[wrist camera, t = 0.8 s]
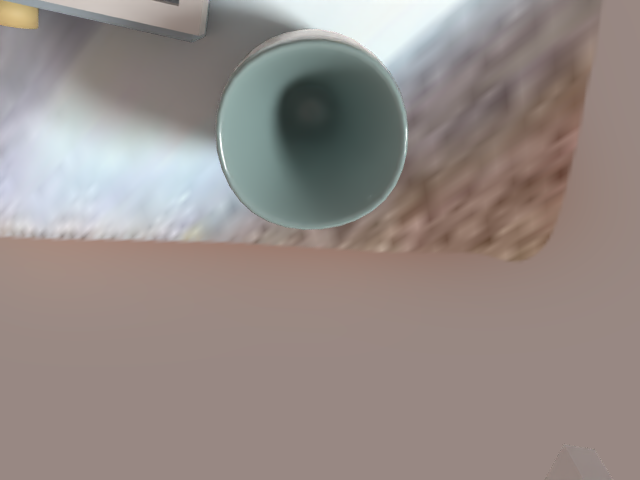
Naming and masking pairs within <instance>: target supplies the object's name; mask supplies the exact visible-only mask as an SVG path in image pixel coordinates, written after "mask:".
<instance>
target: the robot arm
mask: <svg viewBox="0 0 640 480" xmlns="http://www.w3.org/2000/svg"><path fill="white" fill-rule="evenodd" d="M545 480H613V478H612V477H611V475H610V474H609V472H608V470H607V469H606V467H605V466H604V464H603V462H602V461H601V459H600V457H599V456H598V454H597V452H596V451H595V450H594V449H589V448H582V447H576V446H570V445H563V447H562V449H561V451H560V452H559V454H558V456H557V458H556V460H555V462H554V463H553V465H552V467H551V469H550V471H549V473H548V474H547V477H546V478H545Z"/></svg>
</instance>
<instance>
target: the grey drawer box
mask: <svg viewBox="0 0 640 480" xmlns="http://www.w3.org/2000/svg"><path fill="white" fill-rule="evenodd" d="M209 5H210V0H0V25H3V26H9V27H16V28H25V29H37V28H38V13H39V8H40V9H44V10H49V11H53V12H58V13H62V14H67V15H71V16H76V17H80V18H85V19H89V20H94V21H98V22H103V23H107V24H112V25H117V26H121V27H126V28H130V29H135V30H139V31H144V32H148V33H153V34H157V35H162V36H166V37H171V38H175V39H180V40H184V41H189V42H194V41H196V40H198V39H200V38H202V37H204V36H206V29H207V21H208V13H209Z"/></svg>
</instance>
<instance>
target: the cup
mask: <svg viewBox="0 0 640 480" xmlns="http://www.w3.org/2000/svg"><path fill="white" fill-rule="evenodd" d="M215 136H216V148H217V153H218V156H219V160H220V164H221V168H222V171H223V173H224V175H225V177H226V179H227V182H228V184H229V186H230V188H231V189H232V190H233V192H234V193H235V195H236V196H237V197H238V199H239V200H240V202H242V203H243V204H244V205H245V206H246V207H247V208H248V209H249V210H250V211H251V212H252V213H254V214H256V215H257V216H259V217H261V218H263V219H264V220H266V221H268V222H271V223H274V224H277V225H280V226H283V227H288V228H295V229H302V230H310V229H326V228H331V227H337V226H341V225H344V224H347V223H349V222H352V221H355V220H357V219H359V218H361V217H363V216H365V215H366V214H368V213H370V212H372V211H373V210H374V209H375V208H376V207H378V206H379V205H380V204H381V203H382V202H383V201H384V200H385V199H386V198H387V197H388V195H389V194H390V193H391V191H392V190H393V188H394V187H395V186H396V183H397V181H398V179H399V177H400V174H401V172H402V170H403V166H404V162H405V158H406V153H407V145H408V123H407V115H406V109H405V105H404V102H403V99H402V95H401V92H400V90H399V88H398V86H397V84H396V82H395V80H394V78H393V77H392V75H391V73H390V71H389V70H388V69H387V68H386V67H385V66H384V64H383V63H382V62H381V61H380V60H379V59H378V57H377V56H376V55H375V54H374V53H372V52H371V51H370V50H369V49H367V48H366V47H364V46H363V45H361V44H360V43H358V42H357V41H356V40H354V39H352V38H350V37H347V36H345V35H342V34H340V33H337V32H333V31H327V30H321V29H301V30H296V31H291V32H285V33H283V34H280V35H278V36H275V37H273V38H270V39H268V40H266V41H265V42H263V43H262V44H260V45H259V46H257V47H256V48H254V49H253V50H252V51H251V52H250V53H249V54H248V55H247V56H246V57H245V58H244V59H243V60H242V61H241V62H240V63H239V64H238V65H237V67H236V68H235V69H234V70H233V72H232V74H231V76H230V77H229V79H228V81H227V83H226V85H225V86H224V88H223V90H222V94H221V97H220V100H219V104H218V107H217V113H216V124H215Z"/></svg>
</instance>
